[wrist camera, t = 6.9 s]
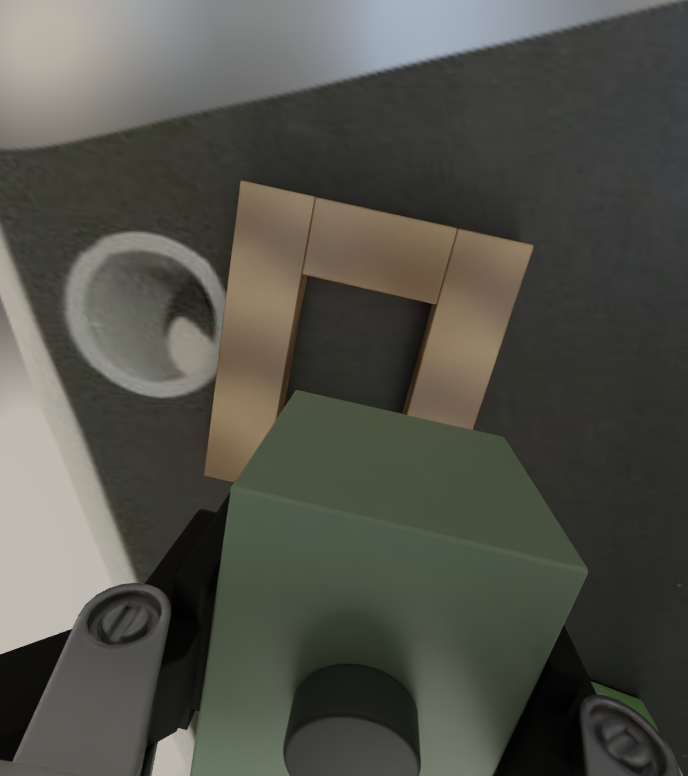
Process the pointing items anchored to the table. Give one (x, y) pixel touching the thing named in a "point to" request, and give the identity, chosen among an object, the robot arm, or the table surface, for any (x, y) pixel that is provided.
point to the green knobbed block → (379, 599)
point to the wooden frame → (365, 270)
